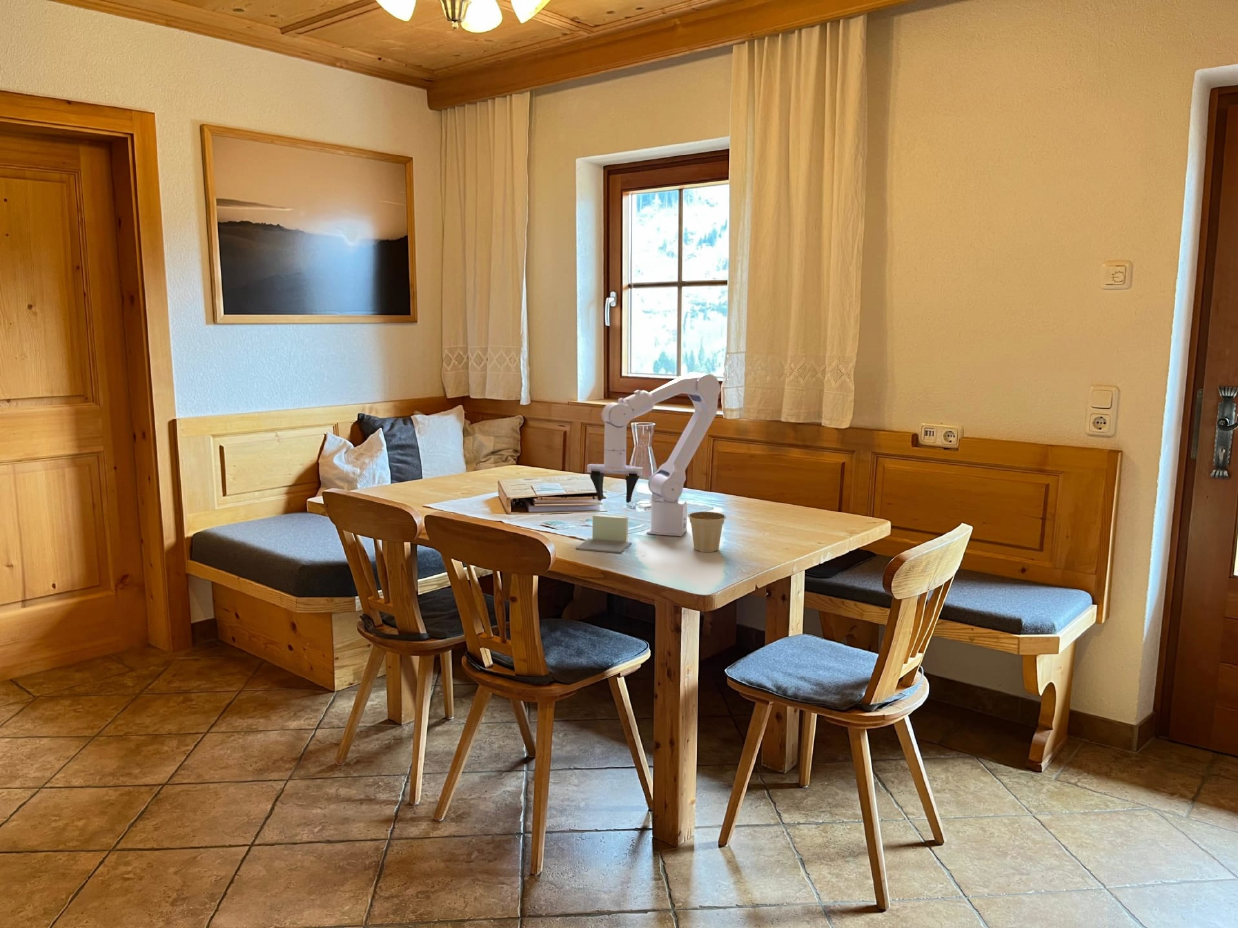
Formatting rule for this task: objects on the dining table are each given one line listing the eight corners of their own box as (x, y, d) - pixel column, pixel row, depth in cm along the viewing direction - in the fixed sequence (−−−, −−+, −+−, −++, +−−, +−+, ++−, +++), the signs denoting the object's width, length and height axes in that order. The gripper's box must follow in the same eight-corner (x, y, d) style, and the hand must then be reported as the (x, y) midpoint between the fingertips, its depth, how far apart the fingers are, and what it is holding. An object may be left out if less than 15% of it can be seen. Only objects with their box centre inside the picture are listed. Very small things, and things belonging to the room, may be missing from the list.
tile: (627, 541, 238) (628, 517, 237) (626, 543, 237) (626, 518, 236) (594, 538, 241) (594, 514, 240) (592, 540, 239) (592, 515, 238)
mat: (631, 543, 236) (631, 542, 236) (620, 553, 227) (620, 551, 227) (588, 540, 239) (588, 538, 239) (576, 549, 230) (576, 547, 230)
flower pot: (698, 555, 226) (699, 521, 225) (680, 546, 235) (681, 513, 233) (731, 552, 230) (733, 518, 228) (713, 543, 238) (714, 510, 237)
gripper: (583, 450, 238) (583, 501, 240) (638, 453, 234) (637, 505, 237) (592, 446, 245) (591, 496, 247) (645, 449, 241) (644, 500, 243)
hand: (614, 500), depth 242 cm, fingers open, 7 cm apart
